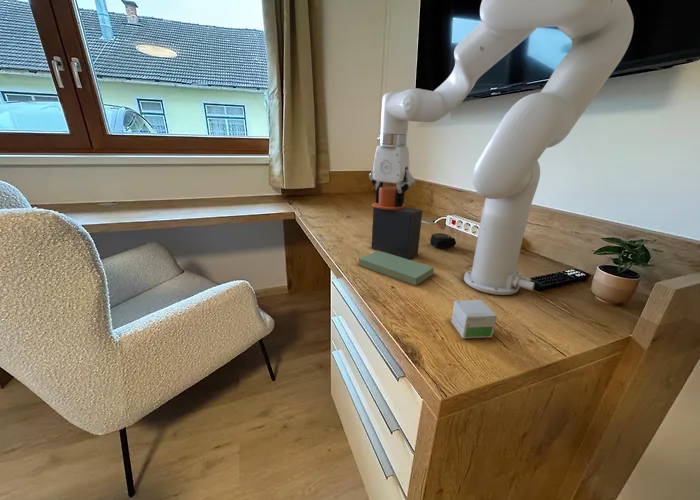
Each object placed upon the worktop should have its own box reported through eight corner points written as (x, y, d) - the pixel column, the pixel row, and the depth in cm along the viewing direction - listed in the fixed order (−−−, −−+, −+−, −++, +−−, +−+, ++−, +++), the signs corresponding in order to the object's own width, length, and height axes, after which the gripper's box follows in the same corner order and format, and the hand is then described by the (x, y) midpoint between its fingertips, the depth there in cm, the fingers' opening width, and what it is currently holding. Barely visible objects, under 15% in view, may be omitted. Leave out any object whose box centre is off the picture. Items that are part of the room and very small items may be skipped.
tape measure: (436, 250, 98) (438, 239, 97) (426, 243, 104) (427, 233, 103) (455, 249, 100) (457, 238, 99) (443, 242, 106) (445, 232, 105)
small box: (462, 339, 55) (466, 316, 53) (450, 321, 60) (453, 299, 59) (493, 338, 56) (498, 315, 54) (478, 320, 61) (482, 298, 59)
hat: (411, 206, 94) (413, 188, 92) (393, 211, 87) (394, 191, 85) (385, 201, 100) (386, 184, 98) (365, 205, 93) (366, 187, 91)
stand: (433, 274, 81) (434, 267, 80) (415, 285, 75) (416, 278, 74) (378, 256, 92) (378, 250, 92) (358, 265, 86) (358, 258, 85)
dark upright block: (417, 255, 94) (422, 210, 89) (408, 259, 90) (413, 213, 86) (380, 244, 103) (383, 202, 98) (371, 248, 99) (373, 205, 94)
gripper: (361, 140, 90) (359, 201, 96) (413, 142, 79) (407, 210, 85) (376, 140, 95) (373, 198, 101) (427, 142, 85) (420, 206, 91)
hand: (389, 203), depth 93 cm, fingers closed on hat, 6 cm apart
